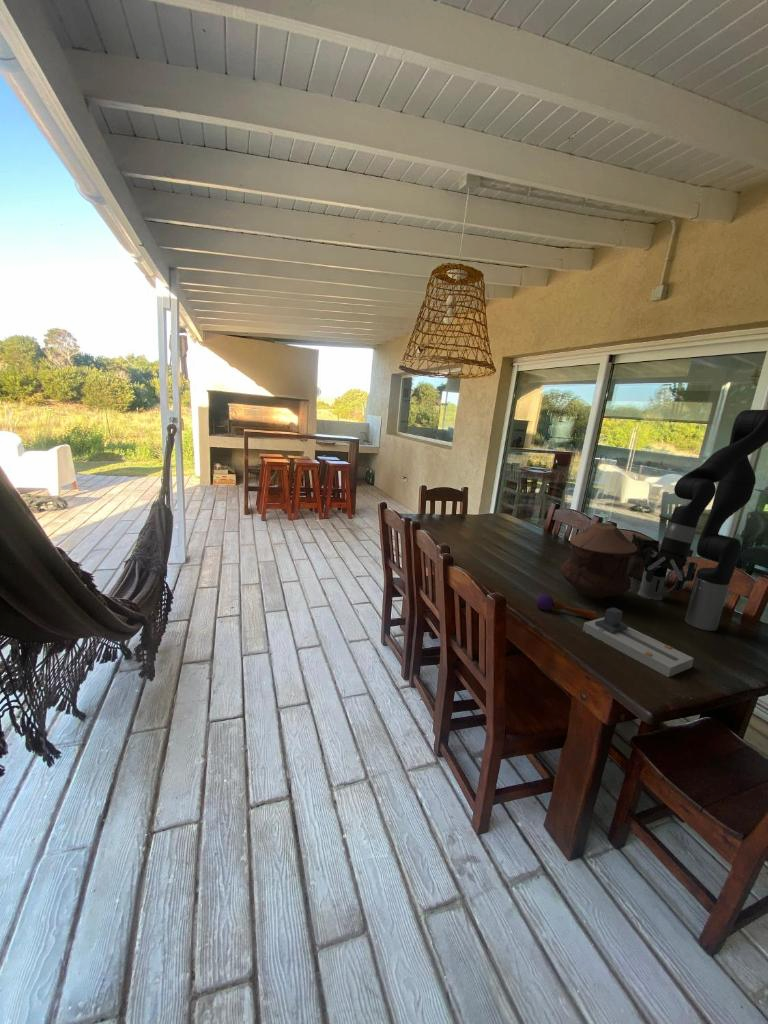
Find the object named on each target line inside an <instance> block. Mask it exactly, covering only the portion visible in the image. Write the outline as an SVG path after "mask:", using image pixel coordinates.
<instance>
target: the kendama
mask: <svg viewBox="0 0 768 1024" xmlns="http://www.w3.org/2000/svg"><path fill="white" fill-rule="evenodd" d="M535 602H536V603H535V604H536V606H537V607H538V608H539V609H540V610H543V611H549V610H551V609H552V611H557V610H558V611H559V610H566V611H568V612H570V613H573V614H576V615H578V616H581V617H583V618H585V619H588V620H590V621H592V620H596V617H597V611H594V610H588V609H583V608H576V607H573V606H566V605H564V604H563V603H561V602H560V601H558V600H557V599H556V598H555V599H553V597H552V596H551V595H549V594H548V593H540V594H539V595H538V596H536V599H535Z"/></svg>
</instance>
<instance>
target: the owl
mask: <svg viewBox="0 0 768 1024" xmlns="http://www.w3.org/2000/svg"><path fill="white" fill-rule="evenodd" d="M630 542H631V543H633V544H634V545H635V546H637V548H638V549H637V551H635V552H633V553H631V555H630V559H629V564H628V568H627V573H628V575H629V576H630V578H631V577H633V578H632V579H634V580H636V579H637V581H639V580H640V581H639V582H641V581H642V577H643V572H644V568H645V567H644V566H643V562H644V560H645V557H646V555H647V552H648V550H653V551H655V552H657V553H658V552H659V551H660V546H659V545H660V540H656V539H653V538H649V537H647V536H641V535H637V534H636V533H632V540H631V541H630ZM653 559H657V560H658V558H657V556H655V557H654V558H653Z"/></svg>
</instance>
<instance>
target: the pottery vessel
mask: <svg viewBox="0 0 768 1024" xmlns="http://www.w3.org/2000/svg"><path fill="white" fill-rule="evenodd" d="M569 542H570V544H571V545H572V546H571V550H570V554H569V558H568V559H567V560H566V561H565V562H564V563H562V565H561V566H560V573H561V574H562V576H563V577H564V579H565V580H566V581H567V582H568V583H569V584H570V585H571V586H572V587H573V588H574V589H575V590H576V593H577V594H578V595H579V596H581V597H583V598H586V599H589V600H590V599H591V600H603V598H607V597H612V596H617V595H620V594H624V593H626V592H628V591H629V590H630V589H631V586H632V583H631V582H632V581H631V577H629V575H628V569H627V568H628V564H629V559H630V555H631V553H633V552H635V551H637V549H638V548H637V546H635V545H634V544H633V543H631V542H632V541H630V540H629V539H628V538H627V536H625V534H624V533H623V532H622V531H621V530H620V529H619V528H618V527H617V526H615V525H613V524H610V523H605V522H595V523H592V524H591V525H589V526H588V527H586V528H585V529H584V530H583V531H581V532H580V533H578V534H574V535H572V536H571V537H570V538H569Z"/></svg>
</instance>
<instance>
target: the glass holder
mask: <svg viewBox="0 0 768 1024" xmlns="http://www.w3.org/2000/svg"><path fill="white" fill-rule="evenodd" d="M656 561H658V560H657V559H653V560H652V562H651V565H652V564H653V563H654V562H656ZM668 570H669V569H668V568H663V567H662V566H661V567H659V568H657V569H656V570H654V572H655V573H654V576H653V579H652V581H651V582H647V581H646V578H645V577H646V574H647V571H648V569H647V568H646V567H645V568H644V572H643V577H642V582H641V581H640V585H639V586H640V587H639V590H638V591H637V594H638V595H639V596H640V595H641V596H640V597H642V596H643V597H642V598H644V597H645V598H644V599H647V598H648V599H647V600H650V599H653V600H652V601H657V600H658V601H662V600H663V594H665V593H668V592H671V591H674V589H675V586H676V583H677V580H679V579H678V577H677V574H676V573H675V571H674V570H670V571H668ZM671 573H674V574H675V576H676V581H675V583H674V585H673V586H672V587H671V588H669V589H667V590H665V591H664V588H665V584H666V580H668V579H669V577H670V574H671Z"/></svg>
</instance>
